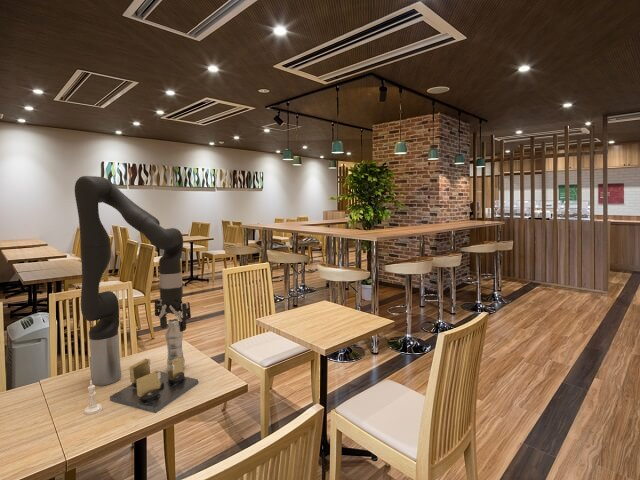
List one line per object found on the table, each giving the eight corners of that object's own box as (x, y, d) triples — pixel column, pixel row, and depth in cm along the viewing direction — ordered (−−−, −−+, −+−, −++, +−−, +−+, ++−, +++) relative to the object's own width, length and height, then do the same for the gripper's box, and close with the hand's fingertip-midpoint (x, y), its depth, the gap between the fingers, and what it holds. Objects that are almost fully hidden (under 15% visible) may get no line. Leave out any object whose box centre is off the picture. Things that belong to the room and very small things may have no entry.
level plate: (109, 400, 124) (108, 392, 124) (155, 374, 143) (155, 367, 142) (155, 412, 116) (155, 404, 116) (198, 383, 135) (198, 376, 135)
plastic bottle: (179, 373, 143) (176, 323, 140) (163, 372, 144) (160, 322, 142) (188, 366, 149) (185, 318, 147) (173, 364, 150) (170, 317, 148)
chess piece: (83, 416, 115) (80, 385, 114) (85, 408, 119) (82, 379, 118) (101, 411, 117) (99, 382, 116) (102, 404, 122) (100, 375, 121)
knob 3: (174, 375, 137) (173, 356, 137) (188, 376, 137) (187, 356, 136) (163, 385, 130) (162, 364, 129) (178, 385, 130) (177, 365, 129)
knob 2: (144, 404, 118) (142, 382, 117) (134, 399, 121) (133, 377, 120) (164, 394, 124) (163, 373, 123) (154, 390, 127) (153, 369, 126)
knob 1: (138, 389, 128) (137, 368, 127) (126, 386, 130) (125, 366, 129) (155, 379, 134) (153, 360, 133) (143, 377, 136) (142, 357, 135)
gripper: (147, 285, 129) (149, 330, 131) (179, 289, 124) (181, 335, 126) (163, 281, 136) (165, 323, 138) (194, 284, 131) (196, 328, 133)
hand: (173, 329), depth 132 cm, fingers open, 8 cm apart
